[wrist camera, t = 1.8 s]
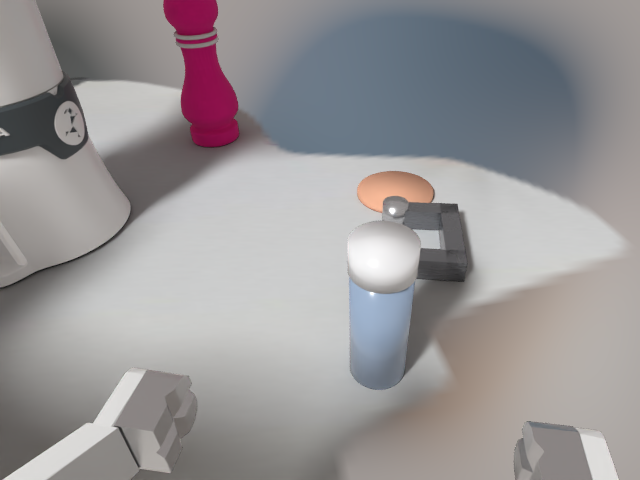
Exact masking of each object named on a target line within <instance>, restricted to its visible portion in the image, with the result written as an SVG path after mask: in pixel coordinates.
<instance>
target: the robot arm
mask: <svg viewBox="0 0 640 480" xmlns="http://www.w3.org/2000/svg"><path fill="white" fill-rule="evenodd" d="M130 210H131V206H130V202H129V200H128V198H127V197H126V196H125V195H124V193H123V192H122V191H121V190H120V188H119V187H118V185H117V184H116V182H115V181H114V180H113V178H112V176H111V175H110V173H109V172H108V170H107V168H106V167H105V165H104V163H103V161H102V159H101V158H100V156H99V154H98V152H97V150H96V149H95V147H94V145H93V143H92V141H91V139H90V137H89V135H88V131H87V126H86V122H85V118H84V114H83V110H82V107H81V105H80V102H79V99H78V97H77V94H76V92H75V89H74V87H73V85H72V83H71V80H70V78H69V76H68V74H66V73H65V72H63V71H62V70H61V68H60V65H59V62H58V60H57V57H56V55H55V52H54V49H53V47H52V44H51V41H50V39H49V36H48V34H47V31H46V28H45V25H44V23H43V20H42V17H41V15H40V12H39V9H38V7H37V4H36V2H35V0H0V287H4V286H7V285H10V284H12V283H15V282H17V281H19V280H21V279H23V278H24V277H26V276H28V275H30V274H32V273H34V272H36V271H38V270H41V269H44V268H47V267H50V266H54V265H57V264H60V263H63V262H66V261H69V260H72V259H74V258H77V257H79V256H81V255H83V254H86V253H88V252H90V251H92V250H93V249H95V248H97V247H98V246H100V245H102V244H103V243H105V242H106V241H107V240H109V239H110V238H111V237H113V236H114V235H115V234H116V233H117V232H118V231H119V230H120V229H121V228H122V227H123V225H124V224H125V223H126V221H127V219H128V217H129V215H130ZM191 384H192V383H191V381H190V378H189V376H187V375H180V374H174V373H167V372H160V371H153V370H148V369H140V368H133V367H132V368H130V369H129V370H128V371H127V372H126V373H125V374H124V375H123V377H122V379H121V380H120V382H119V383H118V385H117V386H116V388H115V389H114V391H113V393H112V394H111V396H110V397H109V399H108V400H107V402H106V403H105V405H104V407H103V408H102V410H101V411H100V413H99V414H98V416H97V417H96V419H95V421H94V422H93V423H86V424H85V425H83V426H82V427H80V428H79V429H77V430H76V431H74V432H73V433H71V434H70V435H68V436H67V437H65V438H64V439H62V440H61V441H59V442H58V443H56V444H55V445H53V446H52V447H50V448H49V449H47V450H46V451H44V452H43V453H41V454H40V455H38V456H37V457H35V458H34V459H32V460H31V461H29V462H28V463H27V464H25V465H24V466H22V467H21V468H19V469H18V470H16V471H15V472H13V473H12V474H10V475H9V476H7V477H6V478H4V479H3V480H130V479H131V478H132V477H133V476H135V475H136V474H137V473H138V472H139V469H145V470H152V471H159V472H166V473H172V470H173V468H174V466H175V464H176V461H177V459H178V457H179V455H180V453H181V450H182V448H183V447H182V443H181V438H182V437H183V436H185V435H186V434H187V433H189V432H190V430H191V428H192V425H193V423H194V421H195V416H196V411H197V400H196V396H195V394H194V393H192V392H191V391H190V390H189V388H190V386H191ZM522 433H523V438H522V439H520V440H518V441H517V444H516V447H515V453H514V472H515V479H516V480H619V477H618V474H617V471H616V469H615V466H614V463H613V460H612V457H611V454H610V451H609V448H608V445H607V442H606V439H605V437H604V435H603V434H602V433H601V432H600V431H598V430H592V429H584V428H576V427H573V426H564V425H556V424H548V423H539V422H531V421H527V422H526V423H525V424H524V426H523V428H522Z"/></svg>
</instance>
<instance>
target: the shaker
mask: <svg viewBox="0 0 640 480" xmlns="http://www.w3.org/2000/svg"><path fill="white" fill-rule="evenodd" d="M420 249H421V241H420V238H419V237H418V235H417V234H416V233H415V232H414V231H413V230H412V229H410V228H409V227H407V226H405V225H403V224H400V223H396V222H391V221H373V222H368V223H365V224H362V225H360V226H358V227H357V228H355V229H354V230H353V231H352V232H351V233H350V235H349V237H348V242H347V250H348V274H349V302H350V371H351V373H352V376H353V377H354V378H355V380H356V381H357V382H358V383H360V384H361V385H363V386H365V387H367V388H370V389H375V390H383V389H388V388H391V387H393V386H395V385H396V384H397V383H398V382H399V381H400V380H401V379H402V377H403V375H404V371H405V363H406V354H407V345H408V337H409V328H410V319H411V311H412V302H413V293H414V285H415V280H416V278H417V274H418V266H419V258H420Z"/></svg>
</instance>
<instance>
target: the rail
mask: <svg viewBox="0 0 640 480" xmlns="http://www.w3.org/2000/svg"><path fill="white" fill-rule="evenodd" d="M382 221H391V222H396V223H400V224H403V225H405V226H407V227H409V228H410V229H425V230H439V238H440V247H441V249H424V248H421V249H420V258H419V266H418V274H417V278H416V279H432V280H448V281H464V278H465V273H466V268H467V257H466V252H465V246H464V240H463V234H462V228H461V223H460V217H459V211H458V205H457V204H444V203H419V202H408V200H407V199H405V198H403V197H400V196H390V197H387V198H385V199H384V200H383V211H382Z"/></svg>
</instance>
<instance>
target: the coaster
mask: <svg viewBox="0 0 640 480" xmlns="http://www.w3.org/2000/svg"><path fill="white" fill-rule="evenodd" d="M357 195H358V198H359V200H360V201H361V202H362V203H363V204H364V205H365V206H366V207H368V208H370V209H372V210H374V211H377V212H381V213H382V211H383V200H384V199H385V198H387V197H390V196H400V197H403V198H405V199H407V200H408V202H419V203H431V201H432V199H433V188H432V186H431V185H430V183H429V182H428V181H426V180H425V179H423V178H422V177H419V176H417V175H414V174H411V173H407V172H400V171H387V172H380V173H376V174H373V175H370V176H368V177H366V178H365V179H363V180H362V181H361V182H360V184H359V185H358V189H357Z"/></svg>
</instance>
